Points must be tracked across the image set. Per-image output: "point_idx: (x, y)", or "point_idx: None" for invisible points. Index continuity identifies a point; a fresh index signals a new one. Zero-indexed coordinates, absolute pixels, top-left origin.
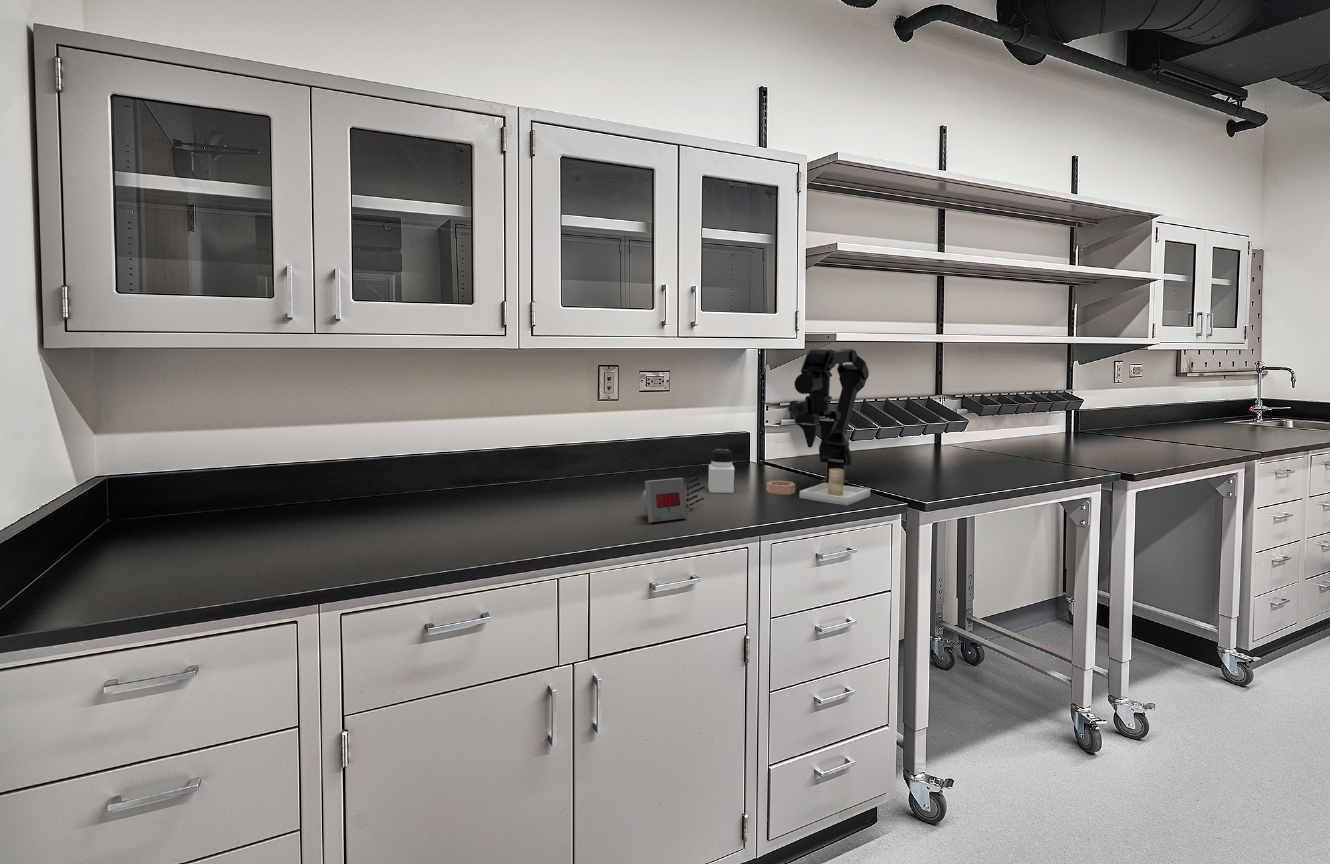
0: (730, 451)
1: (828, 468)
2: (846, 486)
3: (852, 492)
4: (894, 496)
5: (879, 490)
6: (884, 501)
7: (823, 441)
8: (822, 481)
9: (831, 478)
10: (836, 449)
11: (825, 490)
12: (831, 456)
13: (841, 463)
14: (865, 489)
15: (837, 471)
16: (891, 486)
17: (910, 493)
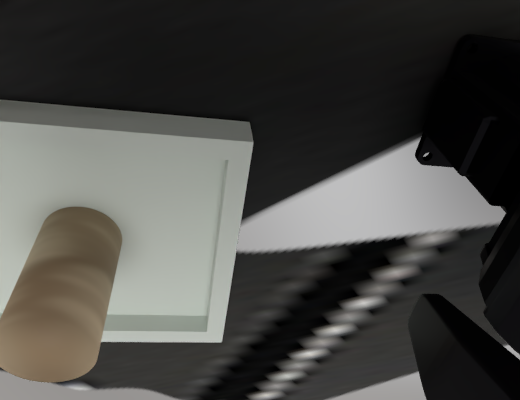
0: None
1: (487, 130)
2: (216, 261)
3: (188, 277)
4: (272, 365)
5: (366, 308)
6: (156, 368)
7: (430, 335)
8: (459, 48)
9: (9, 298)
10: (512, 308)
11: (141, 170)
12: (515, 214)
13: (497, 234)
14: (200, 332)
15: (5, 365)
16: (475, 315)
17: (359, 380)
